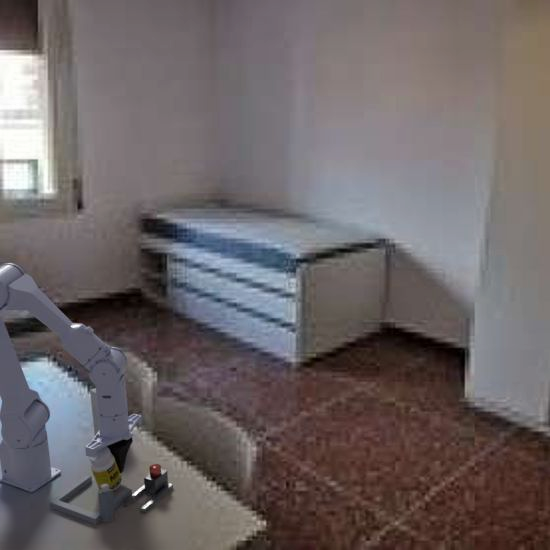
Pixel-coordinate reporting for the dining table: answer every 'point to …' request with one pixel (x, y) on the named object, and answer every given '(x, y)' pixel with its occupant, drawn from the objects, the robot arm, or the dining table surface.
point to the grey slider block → (155, 480)
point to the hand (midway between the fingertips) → (118, 471)
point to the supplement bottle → (105, 469)
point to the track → (152, 501)
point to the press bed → (105, 502)
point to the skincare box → (94, 410)
